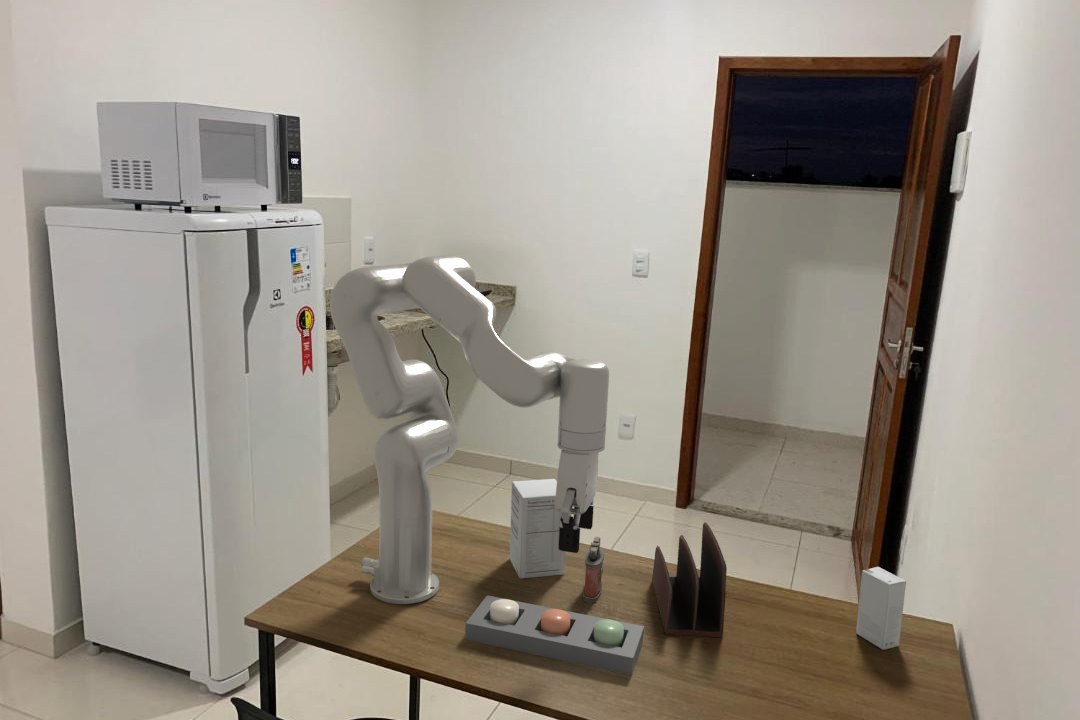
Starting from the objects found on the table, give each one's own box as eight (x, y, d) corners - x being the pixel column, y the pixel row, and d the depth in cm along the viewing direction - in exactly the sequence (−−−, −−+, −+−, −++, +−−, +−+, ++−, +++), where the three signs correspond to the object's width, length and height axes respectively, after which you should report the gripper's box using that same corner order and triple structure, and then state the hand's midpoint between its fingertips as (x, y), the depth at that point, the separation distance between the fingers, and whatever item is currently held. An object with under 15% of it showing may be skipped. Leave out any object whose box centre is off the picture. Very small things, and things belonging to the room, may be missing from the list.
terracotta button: (536, 637, 130) (537, 620, 130) (545, 623, 135) (546, 606, 134) (565, 643, 129) (566, 626, 128) (572, 628, 134) (573, 612, 133)
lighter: (598, 603, 145) (602, 552, 143) (580, 600, 146) (583, 550, 144) (604, 583, 153) (607, 535, 151) (586, 581, 154) (589, 532, 152)
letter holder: (702, 583, 155) (708, 516, 152) (723, 638, 136) (730, 562, 133) (651, 581, 155) (656, 513, 153) (664, 635, 136) (671, 559, 133)
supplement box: (552, 554, 164) (556, 477, 161) (565, 575, 156) (570, 494, 152) (507, 558, 162) (510, 480, 159) (518, 579, 153) (522, 496, 150)
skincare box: (899, 646, 136) (909, 580, 133) (881, 651, 134) (890, 585, 131) (871, 628, 141) (880, 565, 139) (852, 633, 139) (861, 569, 137)
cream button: (485, 626, 133) (486, 610, 132) (495, 612, 137) (496, 597, 137) (512, 632, 132) (513, 615, 131) (521, 618, 136) (522, 602, 135)
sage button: (590, 648, 128) (591, 631, 127) (596, 633, 132) (597, 617, 132) (619, 654, 127) (620, 637, 126) (625, 639, 131) (626, 622, 130)
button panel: (465, 639, 131) (465, 622, 131) (486, 610, 141) (487, 595, 140) (631, 675, 124) (633, 658, 123) (642, 642, 133) (644, 626, 132)
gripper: (571, 421, 135) (566, 516, 138) (543, 450, 118) (538, 557, 122) (615, 426, 133) (608, 522, 136) (592, 457, 116) (586, 565, 120)
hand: (575, 538), depth 129 cm, fingers open, 9 cm apart
